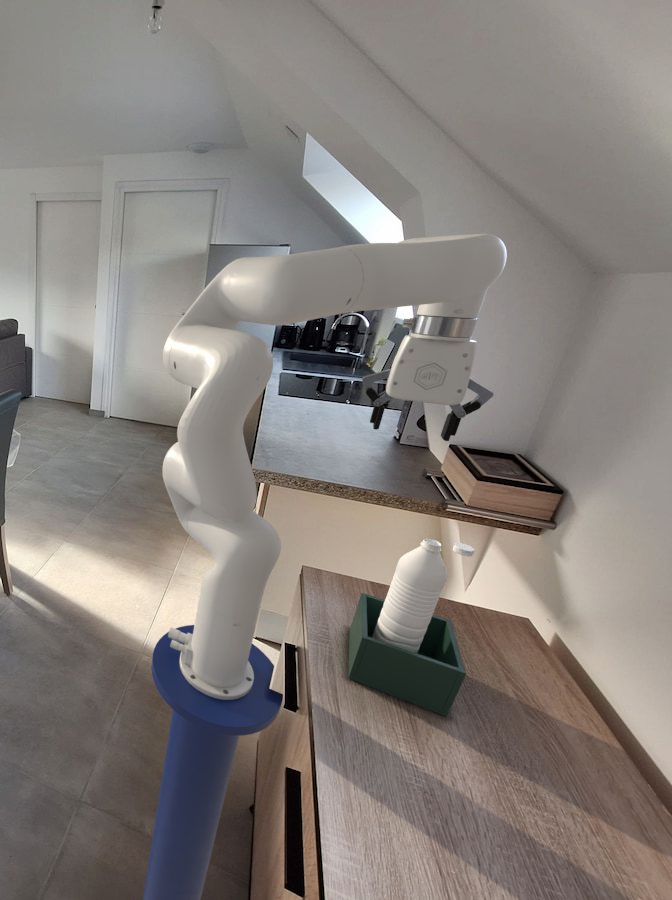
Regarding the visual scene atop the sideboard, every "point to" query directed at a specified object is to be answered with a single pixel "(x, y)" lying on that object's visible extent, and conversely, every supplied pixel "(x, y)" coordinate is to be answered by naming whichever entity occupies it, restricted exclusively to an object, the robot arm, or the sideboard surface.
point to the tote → (406, 660)
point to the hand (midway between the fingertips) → (408, 433)
